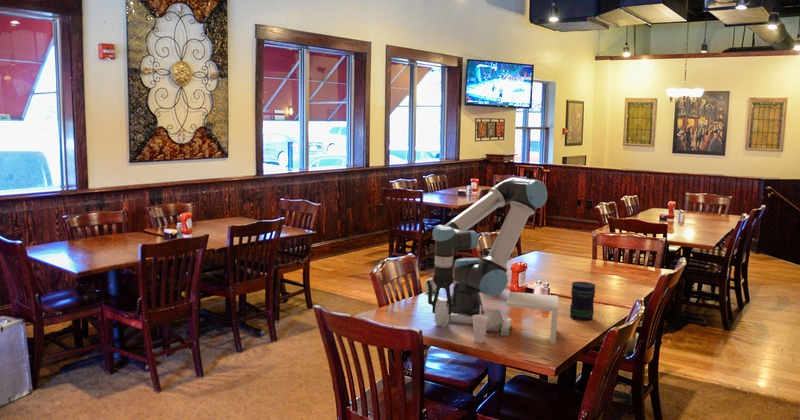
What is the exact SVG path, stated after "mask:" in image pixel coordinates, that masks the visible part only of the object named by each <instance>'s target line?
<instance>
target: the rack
mask: <svg viewBox="0 0 800 420" xmlns="http://www.w3.org/2000/svg"><path fill="white" fill-rule="evenodd" d="M505 308H515V309H524V310H525V309H526V310H534V311H537V310H538V311H545V312H546V311H547V312H551V326H550V338H549V339H550V340H549V341H550V342H552V343H551V344H557V343H556V342H557V328H558V327H557V325H558V310H559V309H558V308H559V296H558V295H553V294H552V295H551V294H540V293H530V292H529V293H528V292H516V291H509V293H508V297H507V300H506V304H505ZM550 342H549V343H550Z"/></svg>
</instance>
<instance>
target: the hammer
mask: <svg viewBox="0 0 800 420" xmlns="http://www.w3.org/2000/svg"><path fill="white" fill-rule="evenodd" d="M436 305H437V312H436V322H435V327H438V326H442V327H441V328H447V326H448V323H458V324H468V325H469V324H470V325H473V320H472V316H473V315H474V314H461V313H456V312H452V313H451V315H449V322H448V323H446V312H447V306H448V301H447V297H438V299H437V303H436ZM502 318H503V320H504V321H503V324H502V326H501V328H500V336H507V337H508V336H509V335H510V331H511V325H512V318H510V317H502Z"/></svg>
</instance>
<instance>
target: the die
mask: <svg viewBox="0 0 800 420" xmlns="http://www.w3.org/2000/svg"><path fill="white" fill-rule="evenodd" d="M483 315H486V316H488V317H489V320H488V322H487V328H486V332H500V331H501V326H502V324H503V321H504V320H503V318H504V317H503V315H502V313H501V311H500V310H499V309H486V310H485V312H484V314H483Z"/></svg>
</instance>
